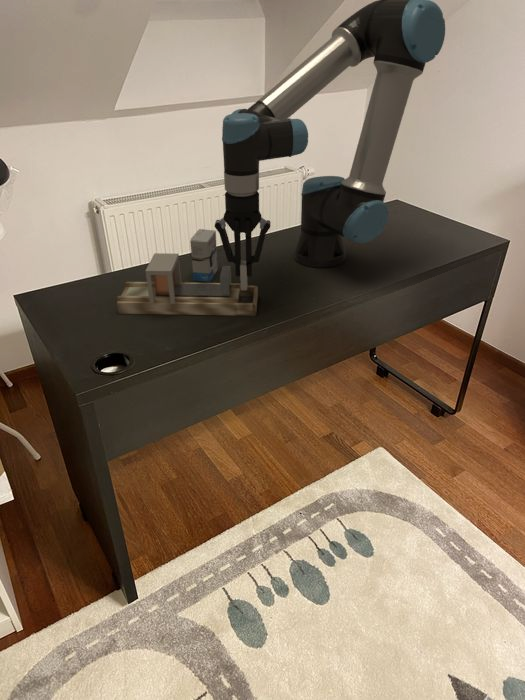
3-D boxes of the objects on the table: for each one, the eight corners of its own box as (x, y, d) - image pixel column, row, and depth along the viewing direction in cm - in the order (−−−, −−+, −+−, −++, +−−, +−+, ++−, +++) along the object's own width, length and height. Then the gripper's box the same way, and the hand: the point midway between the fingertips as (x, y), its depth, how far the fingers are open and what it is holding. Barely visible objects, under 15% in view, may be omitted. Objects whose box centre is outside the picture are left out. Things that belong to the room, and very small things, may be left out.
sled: (231, 287, 132) (230, 266, 128) (229, 299, 127) (228, 276, 123) (160, 286, 132) (157, 265, 129) (155, 298, 127) (152, 275, 124)
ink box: (210, 282, 142) (207, 241, 135) (192, 281, 142) (189, 240, 136) (218, 269, 148) (216, 229, 142) (202, 268, 149) (199, 228, 143)
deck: (257, 296, 135) (257, 282, 133) (256, 315, 127) (255, 301, 124) (129, 294, 136) (126, 280, 134) (118, 313, 128) (116, 298, 126)
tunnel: (181, 284, 134) (178, 253, 129) (174, 303, 126) (171, 271, 121) (158, 284, 134) (154, 253, 129) (149, 303, 126) (145, 270, 121)
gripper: (272, 186, 118) (271, 281, 131) (214, 185, 118) (219, 280, 131) (271, 196, 112) (270, 295, 125) (210, 196, 112) (215, 294, 125)
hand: (244, 287), depth 128 cm, fingers closed
